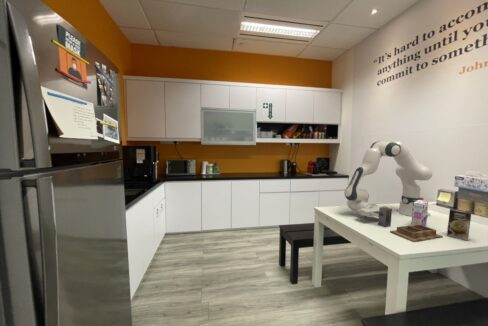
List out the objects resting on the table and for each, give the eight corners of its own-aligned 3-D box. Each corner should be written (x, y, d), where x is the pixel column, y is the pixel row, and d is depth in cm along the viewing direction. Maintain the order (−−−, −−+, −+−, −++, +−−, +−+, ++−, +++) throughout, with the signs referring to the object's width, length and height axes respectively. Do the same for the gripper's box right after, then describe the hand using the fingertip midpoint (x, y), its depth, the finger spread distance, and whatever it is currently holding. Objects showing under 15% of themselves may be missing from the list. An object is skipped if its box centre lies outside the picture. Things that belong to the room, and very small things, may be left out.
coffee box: (446, 236, 129) (449, 209, 128) (447, 233, 134) (449, 207, 132) (468, 241, 123) (471, 213, 121) (468, 237, 127) (471, 211, 126)
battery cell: (383, 223, 148) (385, 205, 147) (390, 226, 143) (392, 207, 142) (378, 224, 146) (379, 206, 145) (385, 227, 142) (386, 208, 141)
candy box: (421, 229, 140) (424, 204, 138) (410, 226, 144) (412, 202, 143) (426, 224, 149) (428, 201, 147) (416, 222, 153) (418, 199, 152)
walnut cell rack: (417, 228, 140) (417, 222, 140) (442, 237, 127) (443, 230, 127) (390, 232, 133) (390, 226, 133) (414, 242, 120) (414, 235, 119)
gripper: (355, 206, 155) (372, 211, 141) (377, 204, 161) (395, 209, 148) (355, 214, 155) (372, 221, 142) (376, 212, 161) (394, 218, 148)
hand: (384, 215), depth 145 cm, fingers open, 8 cm apart
